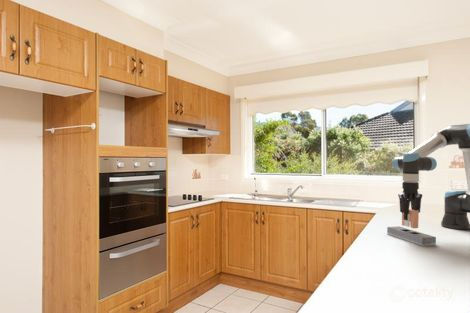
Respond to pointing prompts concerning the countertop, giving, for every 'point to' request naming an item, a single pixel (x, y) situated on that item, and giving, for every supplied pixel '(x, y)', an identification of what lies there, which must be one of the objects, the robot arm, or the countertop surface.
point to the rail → (411, 236)
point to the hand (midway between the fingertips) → (409, 226)
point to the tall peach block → (412, 218)
